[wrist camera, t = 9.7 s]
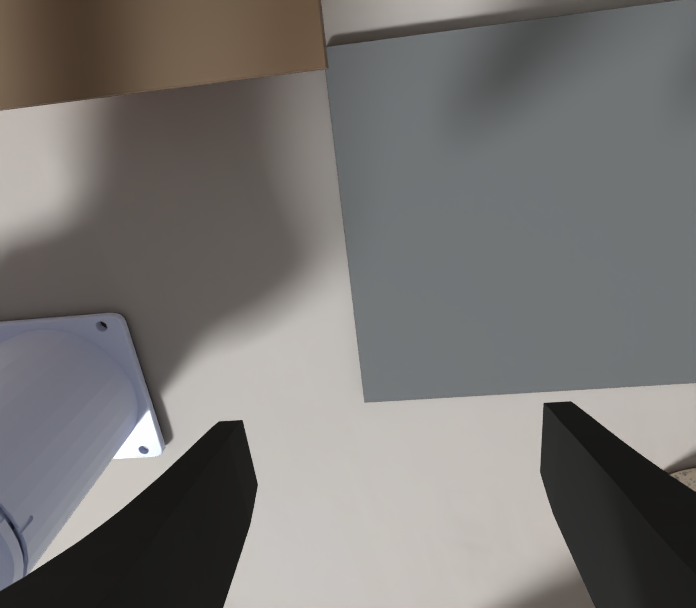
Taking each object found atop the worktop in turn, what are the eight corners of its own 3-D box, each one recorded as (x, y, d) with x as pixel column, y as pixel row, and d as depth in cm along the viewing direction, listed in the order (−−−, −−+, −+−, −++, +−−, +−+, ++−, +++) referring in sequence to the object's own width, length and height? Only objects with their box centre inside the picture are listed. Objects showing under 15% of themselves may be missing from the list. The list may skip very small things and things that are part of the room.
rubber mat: (364, 396, 24) (364, 402, 23) (324, 48, 18) (322, 47, 17) (695, 376, 22) (702, 382, 22) (769, -11, 16) (780, -14, 16)
